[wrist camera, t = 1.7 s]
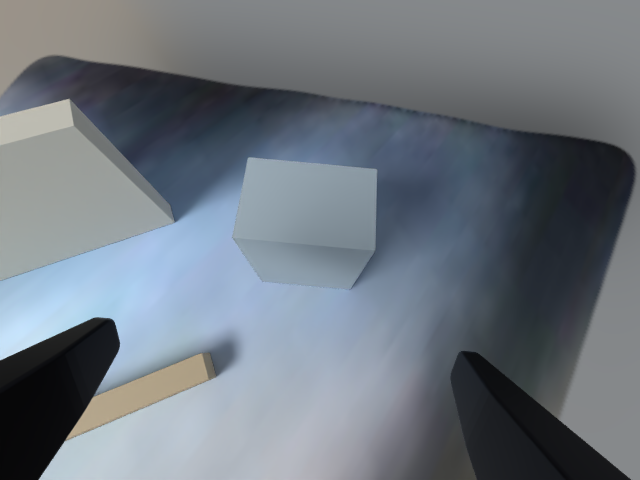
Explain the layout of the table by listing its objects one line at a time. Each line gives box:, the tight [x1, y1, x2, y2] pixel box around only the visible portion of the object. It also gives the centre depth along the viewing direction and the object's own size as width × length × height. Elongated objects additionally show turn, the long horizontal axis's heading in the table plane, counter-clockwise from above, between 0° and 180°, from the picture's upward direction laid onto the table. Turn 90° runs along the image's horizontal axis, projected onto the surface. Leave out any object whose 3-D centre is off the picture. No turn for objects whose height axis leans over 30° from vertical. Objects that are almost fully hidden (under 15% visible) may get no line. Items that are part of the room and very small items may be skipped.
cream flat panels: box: [0, 99, 216, 441], centre depth 15 cm, size 12×14×10 cm
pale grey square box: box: [232, 157, 377, 290], centre depth 17 cm, size 5×6×8 cm
